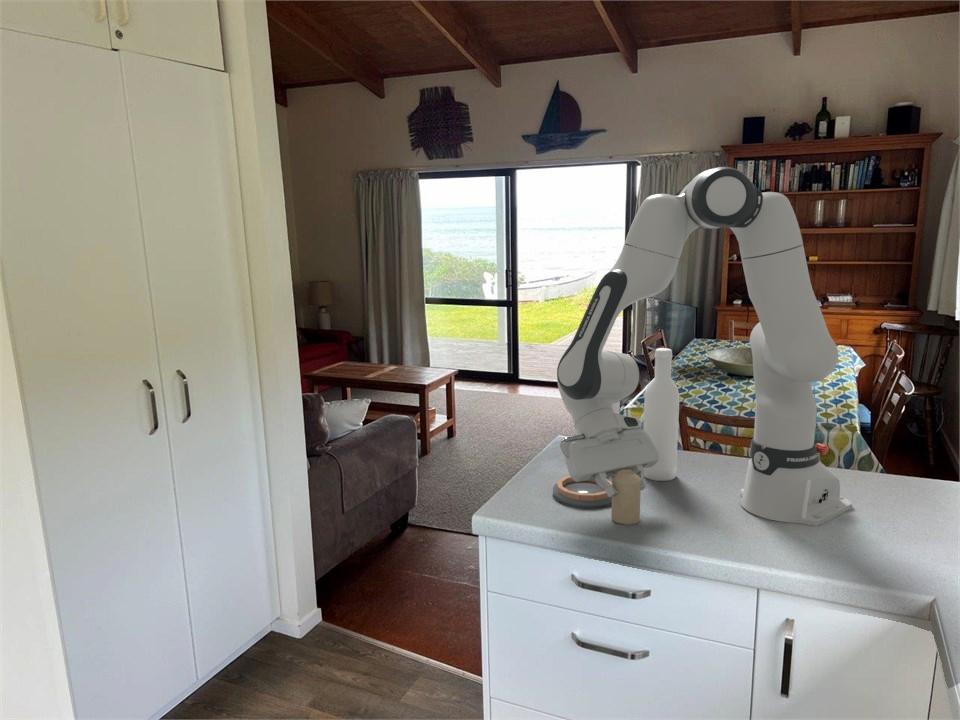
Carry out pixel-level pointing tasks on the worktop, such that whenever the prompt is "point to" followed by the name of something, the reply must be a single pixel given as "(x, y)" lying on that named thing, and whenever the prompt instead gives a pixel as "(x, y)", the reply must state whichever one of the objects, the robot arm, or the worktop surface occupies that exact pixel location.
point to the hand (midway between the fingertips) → (628, 492)
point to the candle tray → (581, 493)
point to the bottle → (662, 417)
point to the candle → (626, 497)
